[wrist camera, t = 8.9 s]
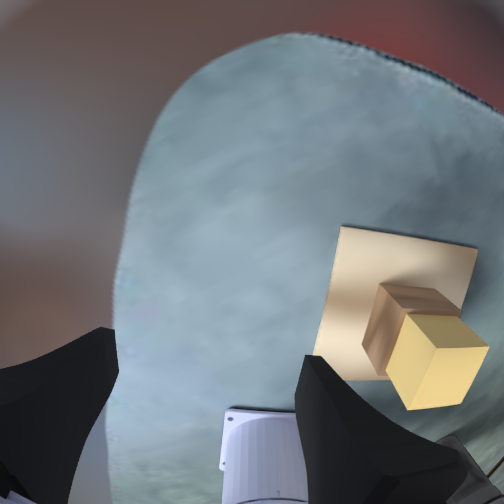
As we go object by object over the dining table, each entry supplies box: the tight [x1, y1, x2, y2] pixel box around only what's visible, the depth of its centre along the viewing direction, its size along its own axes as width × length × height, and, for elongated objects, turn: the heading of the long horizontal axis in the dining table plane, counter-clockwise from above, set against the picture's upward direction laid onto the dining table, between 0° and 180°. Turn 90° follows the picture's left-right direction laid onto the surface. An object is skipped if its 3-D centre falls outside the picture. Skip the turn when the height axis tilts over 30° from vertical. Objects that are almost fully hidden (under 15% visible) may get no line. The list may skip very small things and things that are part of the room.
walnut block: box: [361, 283, 462, 376], centre depth 20 cm, size 5×5×4 cm
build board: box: [313, 226, 478, 381], centre depth 22 cm, size 12×12×1 cm
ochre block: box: [386, 314, 490, 410], centre depth 16 cm, size 4×4×4 cm
